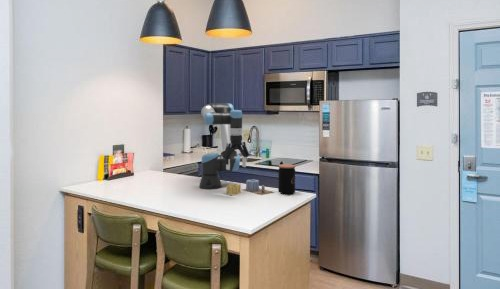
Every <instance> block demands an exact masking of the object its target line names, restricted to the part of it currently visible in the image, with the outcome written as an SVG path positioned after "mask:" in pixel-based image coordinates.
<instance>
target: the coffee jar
mask: <svg viewBox="0 0 500 289" xmlns="http://www.w3.org/2000/svg"><path fill="white" fill-rule="evenodd" d="M295 168H296V165H295V164H291V163H290V164H287V163H282V164H279V165H278V193H279V194H281V195H284V194H285V195H287V196H288V195H289V196H290V195H294V194H295V193H296V169H295ZM285 195H284V196H285Z"/></svg>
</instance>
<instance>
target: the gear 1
mask: <svg viewBox="0 0 500 289" xmlns="http://www.w3.org/2000/svg"><path fill="white" fill-rule="evenodd" d="M241 186H242V185H241V184H237V183H228V184H226V194H227V195H229V196H230V197H233V195H240V194H241V191H242V189H241Z"/></svg>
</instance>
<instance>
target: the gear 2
mask: <svg viewBox="0 0 500 289" xmlns="http://www.w3.org/2000/svg"><path fill="white" fill-rule="evenodd" d="M259 188H260V180H259V179H254V178H253V179H246V181H245V189H246V190H249V191H256V190H257V191H258V190H259Z"/></svg>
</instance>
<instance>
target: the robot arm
mask: <svg viewBox="0 0 500 289" xmlns="http://www.w3.org/2000/svg"><path fill="white" fill-rule="evenodd" d="M200 110H201V111H200V114H201V116H202V117H203V118H204V124H205V125H210V126H212V125H219V130H220V131H219V132H220V139H221V152H220V154H219V152H211V153H206V154H203V155H202V156H201V178H200V181H199V188H200V189H204V190H214V189H216V190H217V189H220V188H221V187H222V181H221V178H220V176H219V174H220V173H221V172H237V171H238V170H239V168H240V164H241V166H242V168H246V167H247V158H248V157H249V155H250V153H249V151H248V148H247V145H246V141H243V135H242V134H243V111H242V110H239V109H235V108H234V105H233V104H232V103H228V102H225V103H224V102H223V103H222V102H221V103H217V102H215V103H213V102H212V103H207V104H205V105H204V106H202V107H201V109H200ZM237 151H239V152H240V154H241V155H242V157H241V155H240V154H239V153H238V152H237ZM240 162H241V163H240ZM219 172H220V173H219Z"/></svg>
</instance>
